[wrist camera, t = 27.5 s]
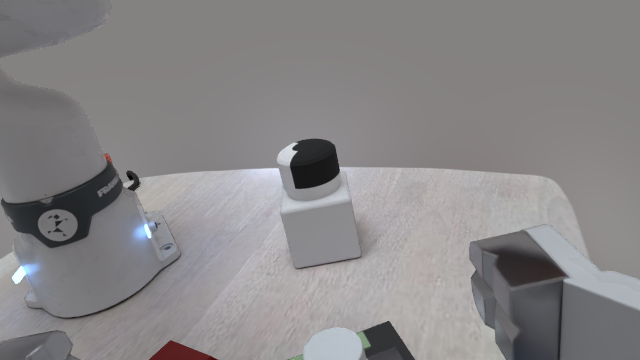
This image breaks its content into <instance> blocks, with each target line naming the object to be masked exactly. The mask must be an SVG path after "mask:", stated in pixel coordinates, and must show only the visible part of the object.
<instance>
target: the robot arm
mask: <svg viewBox="0 0 640 360" xmlns="http://www.w3.org/2000/svg"><path fill="white" fill-rule="evenodd" d="M111 6H112V0H0V58H1V57H5V56H9V55H14V54H18V53H22V52H27V51H31V50H36V49H40V48H45V47H49V46H53V45H58V44H62V43H65V42H67V41H70V40H72V39H74V38H76V37H79V36H81V35H84V34H86V33H88V32H90V31H92V30H94V29H96V28H98V27H100V26H102V25H104V24H105V22H106V20H107V18H108V16H109V13H110V10H111ZM126 174H127V176H128V178H129V180H130V181H131V180H135V182H134V183H133V184H132V185H131V186H129V187H128V188H125V187H123V183H122V181H121V179H120V178H119V174H118V172H117V170H116V169H115V168H114V167H113V165H112V161H111V158H110V156H109V155H108V154H103V151H102V149H101V147H100V144H99V142H98V140H97V138H96V135H95V133H94V131H93V128H92V126H91V124H90V121H89V119H88V117H87V114H86V112H85V110H84V109H83V107H82V106H81V105H80V104H79V103H78V102H77V101H76V100H75V99H74V98H72V97H71V96H69V95H67V94H65V93H63V92H60V91H57V90H53V89H48V88H43V87H37V86H30V85H26V84H23V83H21V82H19V81H17V80H15V79H14V78H12V77H11V76H10V75H8V74H7V73H6V72H5V71H4V70H3V68H2V67H1V66H0V194H1V196H2V197H3V198H2V200H1V205H2V206H3V208H4V212H5V215H6V217H7V219H8V220H9V221H10V222H11V224H12V226H13V227H14V229H15V230H16V231H17V232H19V234H18V236H17V238H16V239H15V241H14V243H13V245H12V248H13V251H14V254H15V256H16V258H17V260H18V262H19V264H20V268H19V270H18V271H17V272H16V273H15V274H14V276H13V277H12V278H13V280H14V282H15V283H16V284H17V283H19V282H20V281H21V279H22V278H23V277H24V275H25V277H26V279H27V281H28V284H29V286H30V288H31V290H30V291H29V292H28V293H27V295H26V296H25V302H26V304H27V306H28V307H33V308H43V309H45V310H46V311H47V312H49V313H50V314H52V315H54V316H57V317H77V316H83V315H87V314H91V313H94V312H98V311H100V310H103V309H106V308H108V307H110V306H113V305H115V304H117V303H119V302H121V301H123V300H124V299H126V298H128V297H129V296H131V295H133V294H134V293H136V292H137V291H138V290H140V289H141V288H142V287H144V286H145V285H146V284H147V283H148V282H149V281H150V280H151V279H152V278H153V277H154V276H155V275H156V274H157V273H158V272H159V271H160V270H161V269H162V268H164V267H165V266H167V265H168V264H170V263H171V262H173V261H174V260H176V259H177V258H178V257H179V256H180V251H179V249H178V247H177V245H176V243H175V241H174V238H173V236H172V234H171V232H170V230H169V228H168V226H167V224H166V222H165V220H164V218H163V216H162V214H161V212H159V211H152V212H144V210H143V207H142V205H141V203H140V200H139V198H138V196H137V194H136V192H133V191H131V190H133V189H134V188H135V187H136V186H137V185H138V184H139V178H138V177H137V175H136V174H135V173H133V172H132V171H127V173H126ZM133 178H134V179H133ZM469 256H470V261H471V262H472V264H473V265H474V267H475V268H476V271H475V272H474V274H473V275H472V277H471V285H472V293H473V297H474V300H475V304H476V307H477V309H478V312H479V314H480V316H481V318H482V320H483V321H484V323H485V325H487V326H489V327H491V328H493V329H495V340H496V344H497V345H498V347H499V349H500V350H501V352H502V354H503V355H504V357H505V359H506V360H640V280H639V279H636V278H633V277H630V276H627V275H624V274H621V273H617V272H614V271H612V270H609V271H604V272H602V271H601V270H600V269H599V268H597V267H596V266H595V265H594V264H593V263H592V262H591V261H590V260H589V259H588V258H586V257H585V256H584V255H583V254H582V253H581V252H580V251H579V250H578V249H577V248H576V247H574V246H573V245H572V244H571V243H570V242H569V241H568V240H567V239H566V238H565V237H563V236H562V235H561V234H560V233H559V232H558V231H557V230H556V229H555V228H554V227H553V226H551V225H548V224H543V225H539V226H535V227H531V228H527V229H523V230H521V231H518V232H514V233H509V234H505V235H500V236H496V237H491V238H486V239H482V240H477V241H473V242H470V247H469ZM72 346H73V344H72V342H71V341H70V339H69V338H68V336H67V334H66V333H65V332H62V331H58V330H55V331H50V332H45V333H39V334H34V335H29V336H24V337H19V338H13V339H8V340H4V341H0V360H80V359H78V358H76V357H74V356H72V355H71V354H70V353H71V350H72Z"/></svg>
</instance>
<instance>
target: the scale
mask: <svg viewBox="0 0 640 360" xmlns="http://www.w3.org/2000/svg"><path fill="white" fill-rule="evenodd" d="M356 334H357V335H358V336H359V337H360V339H361V341H362V344H363V347H364V351H365V355H366V358H367V359H368V360H415V359H414V358H413V356H412V355H411V353H410V352H409V350H408V349H407V347H406V346H405V344H404V342H403V341H402V339H401V338H400V336H399V335H398V333H397V332H396V330H395V329H394V327H393V326H392V324H391V323H390V321H387V322H385V323H382V324H379V325H377V326H374V327H372V328H369V329H366V330H364V331H361V332H359V333H356ZM288 360H303V354H301V355H299V356H296V357H294V358H291V359H288Z"/></svg>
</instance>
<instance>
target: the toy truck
mask: <svg viewBox="0 0 640 360" xmlns="http://www.w3.org/2000/svg"><path fill="white" fill-rule="evenodd" d="M149 360H217V359H215V358H213V357H211V356H209V355H207V354H204V353H202V352H199V351H197V350H194V349H192V348H189V347H187V346H184V345H182V344H179V343H177V342H174V341H172V340H170V341H169V342H168V343H167V344H166V345H165V346H163V347H162V348H161V349H160V350H159V351H158V352H157V353H156V354H154V355H153V356H152V357H151V358H150V359H149Z"/></svg>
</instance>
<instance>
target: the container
mask: <svg viewBox="0 0 640 360" xmlns="http://www.w3.org/2000/svg"><path fill="white" fill-rule="evenodd" d="M277 163H278V167H279V171H280V175H281V179H282V182H283V187H282V198H281V208H280V215H281V218H282V222H283V226H284V229H285V233H286V237H287V240H288V244H289V248H290V252H291V255H292V259H293V263H294V266H295V268H303V267H308V266H313V265H319V264H324V263H330V262H335V261H341V260H346V259H352V258H357V257H360V256H361V249H360V243H359V238H358V233H357V228H356V222H355V217H354V212H353V207H352V201H351V196H350V192H349V187H348V182H347V177H346V173H345V171H343V170H341V171H340V169H339V164H338V158H337V154H336V149H335V146H334V144H332V143H331V142H330V141H327V140H322V139H306V140H301V141H298V142H295V143H293V144H291V145H289V146H287V147H286V148H284V149H283V150H282V151H281V152H280V153H279V155H278V157H277Z"/></svg>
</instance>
